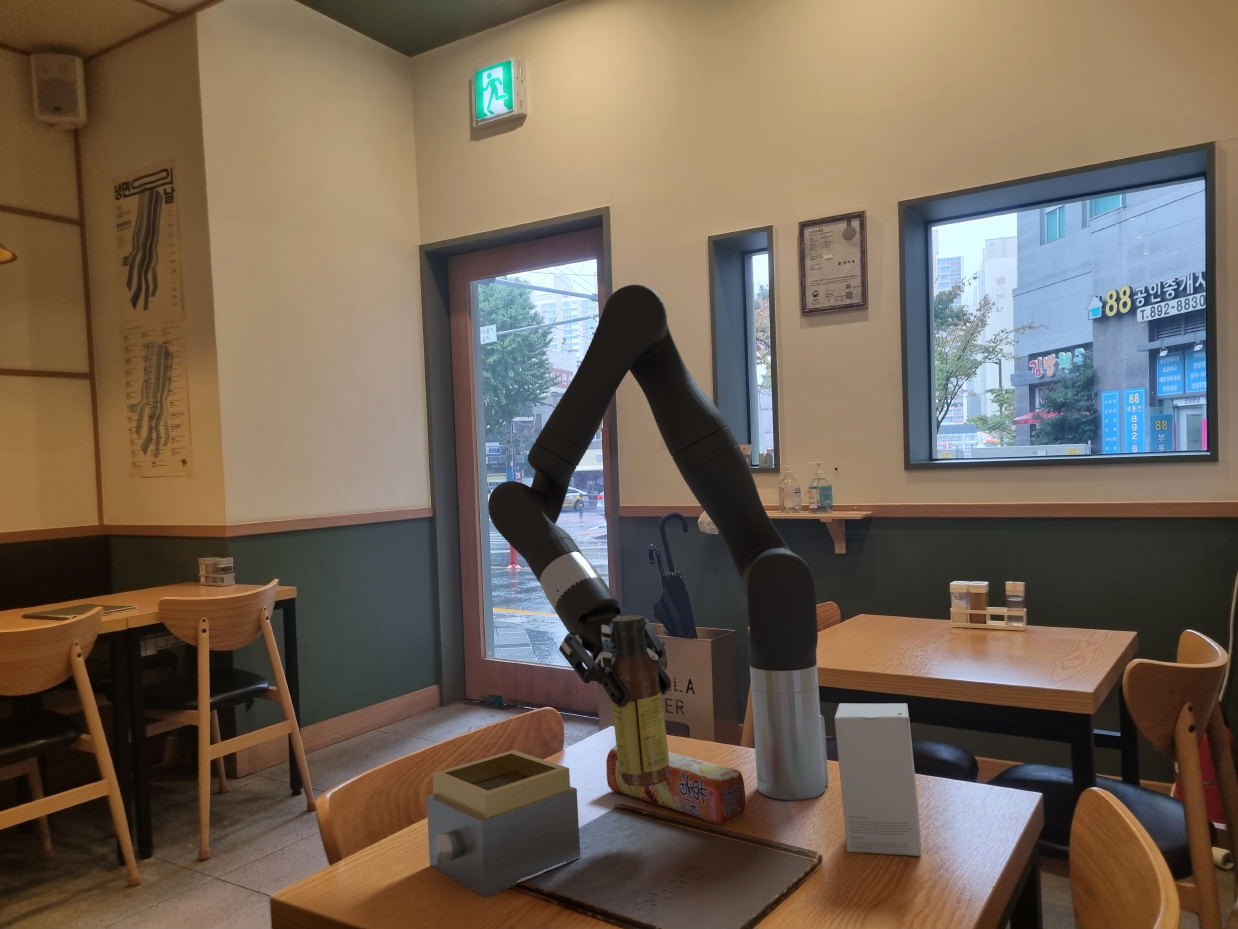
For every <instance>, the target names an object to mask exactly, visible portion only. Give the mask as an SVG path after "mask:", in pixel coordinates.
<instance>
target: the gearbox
mask: <svg viewBox="0 0 1238 929" xmlns="http://www.w3.org/2000/svg"><path fill="white" fill-rule="evenodd" d="M431 775H432V791H433V792H432V794H430V795H427V796H426V809H427V811H426V813H427V830H428V831H427V833H428V852H429V866H430V867H432V868H433V869H435V870H437V871H439V872H440V873H443V875H446V876H447V877H448V878H451V879H452V880H454V881H456V882H458V883H459V884H461V885H463V886H464V887H466V888H468V889H470V891H473V892H475V893H476V894H478V895H480V896H482V897H483V898H488V897H491V896H493V895H496V894H497V893H500V892H503V891H505V890H508V889H510V888H512V887H514V886H517V885H518V884H517V881H518V880H520V879H521V878H524V877H527V876H530V875H533V874H535V873H538V872H540V871H542V870H544V869H548V868H549V867H552V866H554V865H557V864H560V863H563V862H568V861H571V860H573V859H575V858H577V857H580V858H581V846H580V845H581V842H580V826H579V824H580V823H579V808H578V789H577V788H576V787H573V786H572V785H571V778H570V777H571V776H570V768H569V767H567V766H564V765H560V764H558V763H554V762H552V761H548V760H545V759H542V758H540V757H537V756H533V755H529V754H527V753H525V752H521V751H518V750H514V749H512V750H509V751H506V752H502V753H498V754H494V755H491V756H488V757H485V758H481V759H477V760H474V761H471V762H467V763H464V764H459V765H456V766H454V767H450V768H446V769H443V770H440V771H436V772H433V773H432V774H431Z"/></svg>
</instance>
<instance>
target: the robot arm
mask: <svg viewBox="0 0 1238 929" xmlns="http://www.w3.org/2000/svg"><path fill="white" fill-rule="evenodd" d="M603 306H604V307H603V310H602V313H601V315H600V318H599V321H598V323H597V327H596V329H595V331H594V334H593V336H592V339H591V341H590V342H589V343H590V344H589V346H588V348H587V350H586V352H585V354H584V356H583V358H582V361H581V363H580V364H579V366H578V369H577V370H576V372H575V374H574V376H573V378H572V380H571V381H570V383H569V385H568V386H567V388H566V390H565V391H564V393H563V395H562V397H561V398H560V399H559V401H558V403H557V404H556V406H555V407H554V408H553V411H552V413H551V414H550V416H549V417H548V419H547V421H546V422H545V424H544V426H543V428H542V429H541V431H540V432H539V434H538V436H537V438H536V439H535V441H534V443H533V444H532V446H531V448H530V450H529V452H528V454H527V461H528V462H527V463H528V464H529V466H530V467H531V468H532V469H533V470H534V476H533V479H532V482H531V485H530V486H529V485H527V484H526V483H523V482H520V481H516V480H508V481H503V482H501V483H499V484H497V486H496V487H494V488H493V490H492V492H491V493H490V495H489V498H488V502H487V509H488V516H489V518H490V520H491V523H492V524H493V526H494V528H495V529H496V530H497V532H498V533H499V534H500V535H501V536H502V538H503V539H505V540H506V541H507V543H508V544H509V545H510V546H511V547H512V549H513V550H515V551H516V553H518V554H519V555H520V556H521V558H523V559H524V560H525V561H526V563H527V566H528V567H529V569H530V570H531V571H532V574H533V575H534V577H535V579H536V580H537V581H538V583H539V584H540V586H541V588H542V590H543V592H544V595H545V597H546V599H547V601H548V602H549V604H550V605H551V607H552V608H553V610H554V612H555V613H556V615H557V617H558V618H559V620H560V621H561V623H562V625H563V626H564V628H565V630H567V632H568V633H567V634H566V635H565V637H564V639H563V640H562V642H561V644H560V646H559V647H558V649H559V652H560V653H561V654H562V656H563V657H564V658H565V660H566V661H567V662H568V664H569V665H570V666H571V667H572V669H573V671H575V673H576V674H577V675H578V677H579V678H580V679H581V680H582V682H583V683H585V684H590V683H591V682H597V684H599V685H601V686H602V688H603V689H604V690H605V693H606V694H607V695H608V697H609V699H610V700H611V702H612V701H613V702H614V703H615V704H617V706H618V707H624V706H626V704H627V703H628V702H629V700H630V698H631V695H630V693H629V691H628V690H627V688H626V687H625V685H624V684H623V682H622V681H621V679H620V678H619V676H618V674H617V673H616V672H613V673H612V671H613V667H612V665H613V661H612V660H614V659H616V656H617V654H616V640H615V632H614V631H613V627H612V626H613V625H612V620H613V619H614V618H617V617H622V616H623V615H622V611H621V605H620V603H619V601H618V599H617V598H616V596H615V595H614V593H613V591H611V589H610V587H609V586H608V585H607V584H606V582H605V581H604V579H603V578H602V575H601V574H600V573H599V572H598V570H597V569H596V567H595V566H594V565H593V564H592V562H590V561H589V560H588V559H587V558H586V555H584V554H583V552H582V550H580V548H579V547H578V545H577V544H576V542H575V540H573V538H572V536H571V535H570V534H569V533H568V532H567V531H565V529H563V528H562V527H560V526H559V525H557V524H556V523H557V522H558V520H559V517H560V516H561V512H562V510H563V506H564V503H565V499H566V496H567V493H568V491H569V487H570V482H571V478H572V476H573V474H574V472H575V471H576V469H577V468H578V466H579V464H580V462H581V461H582V459H583V457H584V456H585V454H586V453H587V450H588V449H589V447H590V445H591V444H592V442H593V440H594V438H595V437H596V434H597V432H598V430H599V428H600V425H601V424H602V421H603V419H604V417H605V414H606V412H607V411H608V408H609V406H610V404H611V402H612V399H613V398H614V396H615V393H616V392H617V390H618V388H619V386H620V384H621V383H622V381H624V378H625V377H626V375H627V374H628V372H630V373H631V375H632V376H633V377H634V379H635V381H636V382H637V384H638V385H639V387H640V389H641V390H642V392H643V394H644V397H645V398H646V400H647V404H648V405H649V407H650V411H651V413H652V415H653V418H654V421H655V423H656V426H657V429H658V430H659V433H660V435H661V438H662V441H663V442H664V443H665V447H666V448H667V450H668V452H669V454H670V456H671V458H672V460H673V462H674V463H675V466H676V467H677V470H679V474H680V475H681V476H682V478H683V480H684V481H685V483H686V485H687V486H688V488H689V490H690V491H691V493H692V495H693V496H694V497H695V499H696V500H697V503H699V506H701V508H702V509H703V511H704V512H705V514H706V515H707V516H708V517H709V519H710V520H711V522H712V523H713V524H714V526H715V528H716V529H717V530H718V531H719V534H720V535H721V537H722V539H723V541H724V544H725V545H726V547H727V549H728V552H729V554H730V557H731V558H732V561H733V563H734V566H735V568H736V570H737V573H738V575H739V578H740V581H741V584H742V587H743V589H744V591H745V592H744V593H745V595H746V597H747V600H746V601H747V613H748V614H747V615H748V630H749V631H748V632H749V636H748V638H749V640H748V641H749V644H748V658H749V673H750V674H749V675H750V687H751V688H750V689H751V701H752V702H751V703H752V704H751V705H752V720H753V736H754V738H753V739H754V752H755V768H756V770H755V771H756V784H757V790H758V792H759V793H760V794H762V795H764V796H766V797H769V798H773V799H777V800H785V801H800V800H808V799H813V798H816V797H818V796H821V795H822V794H823V793H824V792H825V791H826V786H828V785H829V768H828V756H827V755H828V754H827V742H826V739H827V738H826V727H825V726H826V725H825V717H824V716H823V715H822V714H821V707H820V706H821V705H820V704H821V703H820V691H819V690H820V689H819V677H818V662H817V661H818V660H817V648H818V641H819V640H818V639H819V638H818V637H819V635H818V631H819V630H818V614H817V610H818V609H817V595H816V594H817V593H816V584H815V577H814V574H813V571H812V569H811V568H810V565H809V564H808V563H807V562H806V561H805V559H803V558H802V557H801V556H799V555H798V554H796V553H794V552H793V550H792V549H791V548H790V547H789V546H788V545H787V543H786V541H785V540H784V539H783V537H782V536H781V534H780V533H779V531H778V529H777V528H776V526H775V525H774V523H773V522H772V520H771V518H770V517H769V515H768V514H767V512H766V510H765V507H764V505H763V503H762V500H761V498H760V494H759V491H758V488H757V485H756V482H755V479H754V477H753V474H752V471H751V469H750V467H749V464H748V462H747V459H746V457H745V455H744V452H743V450H742V449H741V448H742V447H741V446H740V445H739V443H738V441H737V439H736V437H735V435H734V434H733V432H732V430H731V428H730V426H729V424H728V423H727V422H726V420H725V418H724V416H723V415H722V413H721V411H720V410H719V409H718V408H717V406H716V404H715V403H714V402H713V400H711V398H710V397H709V395H708V394H707V393H706V392H705V391H704V390H703V388H702V387H701V386H700V384H699V383H698V382H697V381H696V379H695V378H694V376H692V374H691V372H690V371H689V370H688V368H687V366H686V364H685V362H684V360H683V358H682V356H681V353H680V351H679V349H678V347H677V345H676V343H675V340H674V338H673V335H672V332H671V330H670V328H669V324H668V317H667V310H666V307H665V304H664V302H663V301H662V299H661V297H660V296H659V295H658V293H657V292H656V291H655V290H653V289H652V288H650V287H648V286H646V285H643V284H628V285H626V286H622V287H620V288H618V289H617V290H616V291H614V292H613V293H612V294H611V295H610V296H609V298H607V300H606V302H605V305H603ZM645 624H646V626H645V640H646V646H647V652H648V653H649V655H650V657H651V659H652V660H653V662H654V664H655V665H656V667H657V669H658V672H659V673H658V674H659V683H660V689H661V692H662V696H665V695H666V694H668V692H669V690H670V689H671V688H672V681H671V678H670V677H669V675H668V673H666V671H665V670H664V668H663V667H662V665H661V664H660V662H661V660H662V659H663V657H664V656H665V655H666V653H667V651H666V648H665V647H664V645H663V643H662V642H661V639H660V638H659V636H658V635H657V633H656V632H655V629H654V628H653V626H652V624H651V623H650V621H649V620H648V619H647V618H645Z"/></svg>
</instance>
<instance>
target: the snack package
mask: <svg viewBox="0 0 1238 929" xmlns="http://www.w3.org/2000/svg"><path fill="white" fill-rule="evenodd" d="M668 756H669V764H668V765H669V777H668V778H667V780H666V781H663V782H662V783H659V784H656V785H651V786H643V787H642V786H630V785H628V784H626V783H624V782H623V780H622V779H621V775H620V770H619V766H618V756H617V746H616V744H615V745H614V746H612V748H610V750H609V752H608V753H607V757H606V760H605V762H606V781H607V782H606V783H607V786H608V788H609V789H610V790H611V791H613V792H615V793H620V794H624V795H627V796H630V797H633V798H637V799H639V800H642V801H646V802H650V803H651V804H656V805H659V806H662V807H666V808H668V809H672V810H675V811H679V812H681V813H684V814H687V815H690V816H693V817H695V818H699V819H702V820H704V821H707V822H709V823H712V824H714V825H717V826H724V825H725V826H726V825H727V824H730V823H732V822H733V821H734V820H737V819H739V818H740V817H741V816H742V815H743V813H744V812H745V809H746V805H747V800H746V788H745V781H744V777H743V774H742V773H741V771H740V770H738V769H736V768H732V767H726V766H723V765H719V764H715V763H711V762H709V761H708V762H707V761H704V760H701V759H697V758H694V757H690V756H686V755H682V754H677V753H673V752H671V751H668Z"/></svg>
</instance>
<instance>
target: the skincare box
mask: <svg viewBox="0 0 1238 929" xmlns="http://www.w3.org/2000/svg"><path fill="white" fill-rule="evenodd" d="M908 708H909V707H908V703H904V702H903V703H897V702H896V703H893V702H891V703H848V702H847V703H845V702H844V703H841V702H840V703H839V704H838V706H837V708H836V713H835V715H834V725H835V728H834V729H835V736H836V746H837V759H838V768H839V769H838V770H839V780H840V789H841V791H840V792H841V803H842V812H843V822H844V832H845V843H846V850H847V853H862V854H863V853H864V854H879V855H880V854H881V855H895V856H896V855H898V856H899V855H900V856H910V857H911V856H913V857H914V856H915V857H920V856H921V852H922V851H921V849H922V848H921V846H922V844H921V843H922V842H921V826H920V815H919V803H918V792H917V791H918V790H917V784H916V783H917V782H916V771H915V763H914V761H915V760H914V752H913V743H912V740H913V739H912V732H911V731H912V730H911V724H910V716H909V715H910V714H909V709H908Z"/></svg>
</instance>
